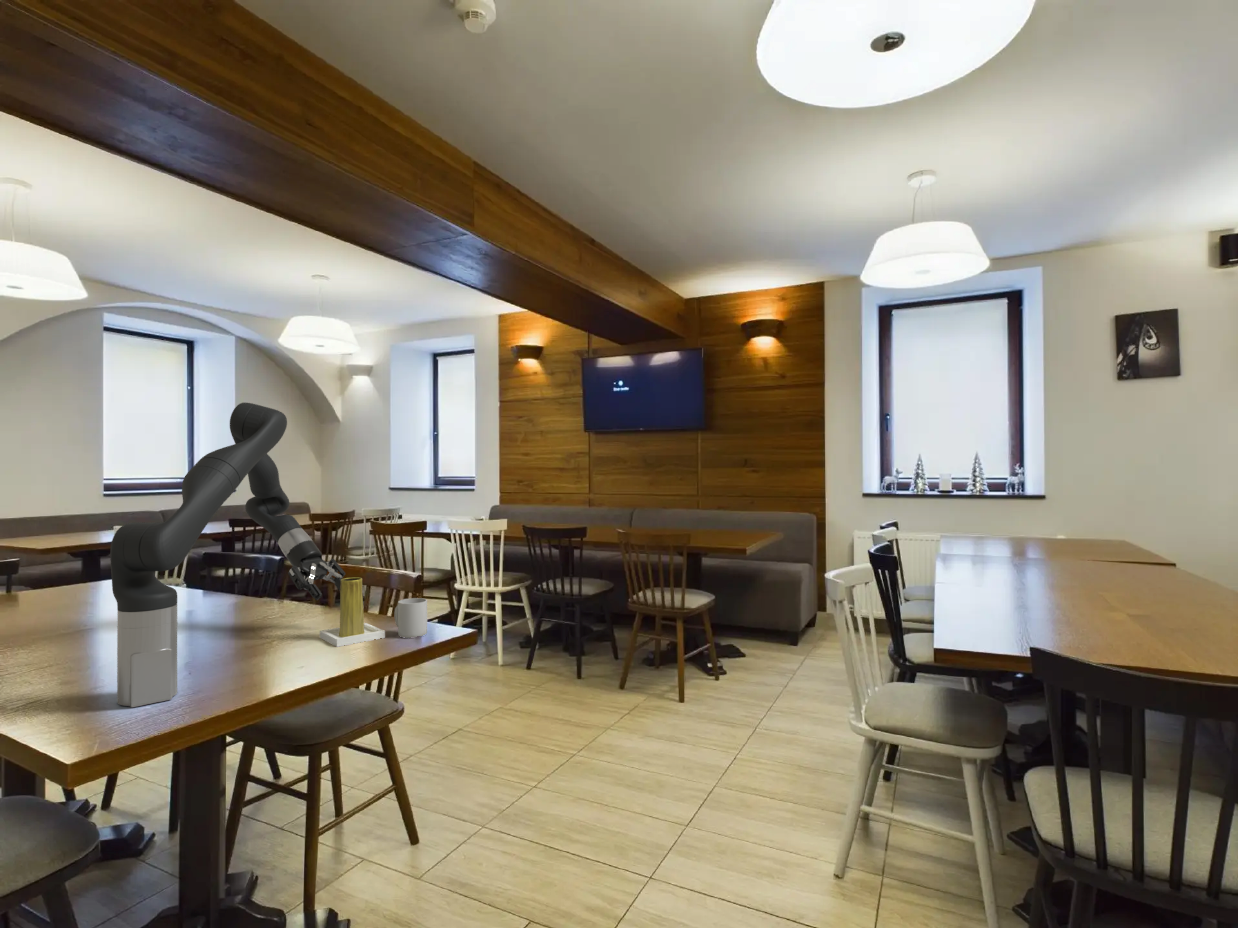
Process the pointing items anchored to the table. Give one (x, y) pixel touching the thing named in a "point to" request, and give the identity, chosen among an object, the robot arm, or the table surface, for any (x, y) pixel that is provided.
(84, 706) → the table surface
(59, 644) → the table surface
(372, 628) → the dish
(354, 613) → the vase
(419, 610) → the cup
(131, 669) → the robot arm
